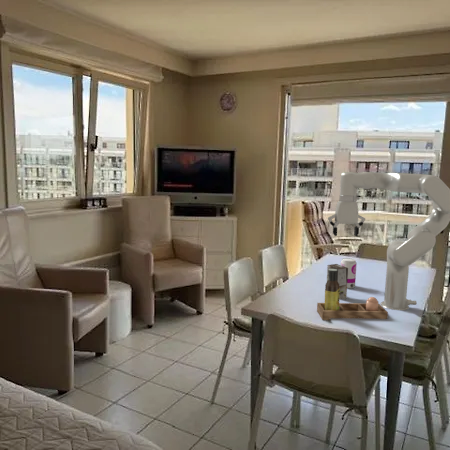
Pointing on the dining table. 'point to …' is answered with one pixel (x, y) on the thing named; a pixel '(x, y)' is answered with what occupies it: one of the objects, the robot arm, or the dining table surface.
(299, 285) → the dining table surface
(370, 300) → the brown egg
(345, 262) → the supplement can
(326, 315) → the caddy
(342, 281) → the coffee box
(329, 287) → the sauce bottle
